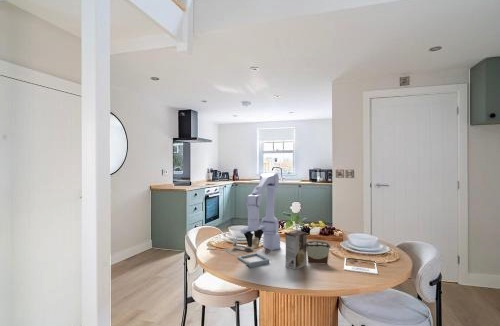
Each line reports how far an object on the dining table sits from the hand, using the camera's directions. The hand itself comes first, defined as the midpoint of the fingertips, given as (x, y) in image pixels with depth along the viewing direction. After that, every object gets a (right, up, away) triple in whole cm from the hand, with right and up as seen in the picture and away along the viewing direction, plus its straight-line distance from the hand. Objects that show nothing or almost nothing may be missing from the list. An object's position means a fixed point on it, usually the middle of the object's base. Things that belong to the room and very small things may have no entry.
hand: (253, 245), depth 144 cm
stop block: (0, -1, 0) cm, 1 cm away
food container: (+32, -9, +1) cm, 33 cm away
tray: (0, -8, 0) cm, 8 cm away
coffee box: (+21, -9, -5) cm, 23 cm away
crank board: (-8, -8, +16) cm, 19 cm away
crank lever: (-6, -6, +17) cm, 19 cm away
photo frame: (+52, -9, -4) cm, 53 cm away
